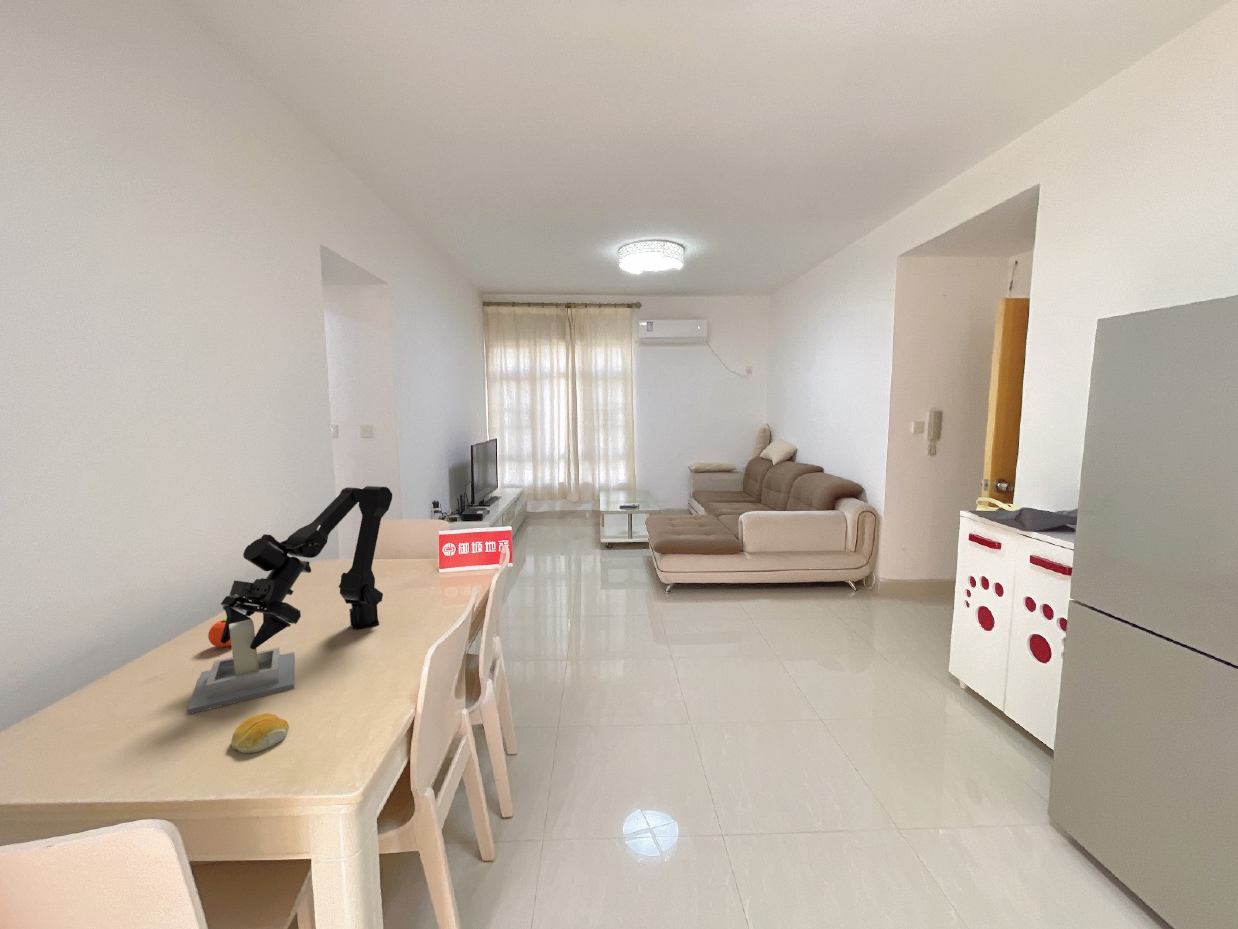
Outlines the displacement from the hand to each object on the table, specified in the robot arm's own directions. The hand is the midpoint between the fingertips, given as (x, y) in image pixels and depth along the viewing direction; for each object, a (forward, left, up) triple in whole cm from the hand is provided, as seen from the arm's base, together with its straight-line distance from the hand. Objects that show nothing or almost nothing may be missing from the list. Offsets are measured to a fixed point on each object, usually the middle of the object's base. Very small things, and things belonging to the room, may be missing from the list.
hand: (236, 645), depth 114 cm
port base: (-1, -1, -9) cm, 9 cm away
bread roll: (-5, +26, -9) cm, 28 cm away
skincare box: (-1, -1, -8) cm, 8 cm away
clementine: (+5, -27, -9) cm, 29 cm away
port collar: (-1, -1, -9) cm, 9 cm away
